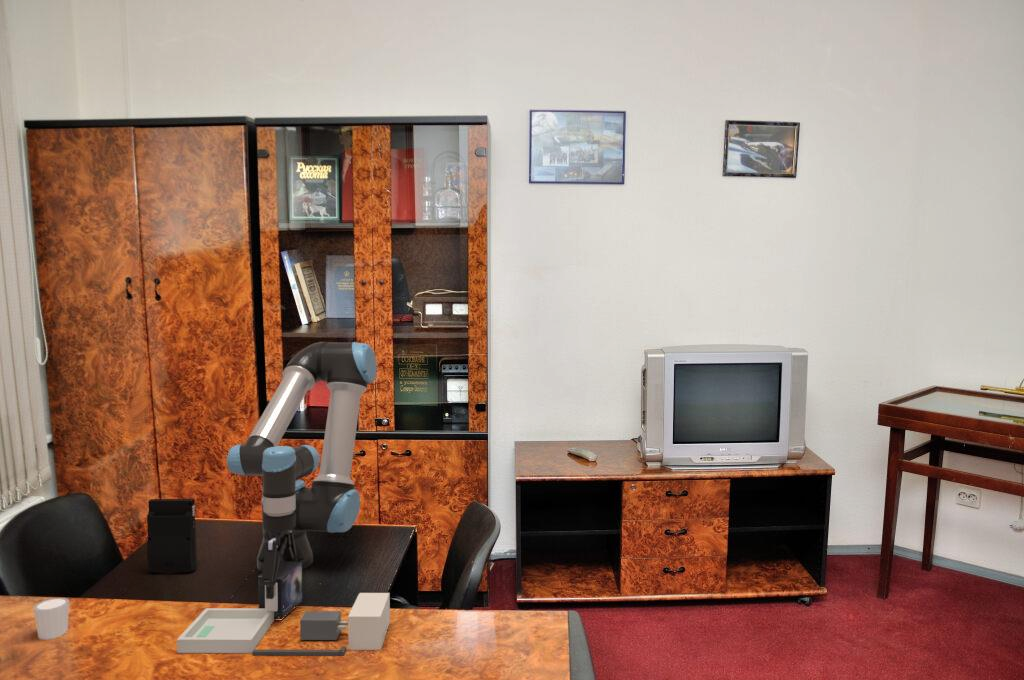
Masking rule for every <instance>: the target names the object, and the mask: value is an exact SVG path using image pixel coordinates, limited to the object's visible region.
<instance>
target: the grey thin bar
mask: <svg viewBox="0 0 1024 680" xmlns="http://www.w3.org/2000/svg"><path fill="white" fill-rule="evenodd" d="M346 651H347V645H346V646H345V645H344V646H341V647H340V649H254V650H253V652H252V653H251V654H252V657H253V656H255V657H256V656H260V657H262V656H264V657H266V656H269V657H270V656H273V657H274V656H275V657H277V656H279V657H280V656H281V657H283V656H284V657H285V656H288V657H289V656H290V657H291V656H292V657H293V656H296V657H297V656H298V657H299V656H302V657H303V656H304V657H305V656H306V657H309V656H310V657H315V656H316V657H319V656H320V657H321V656H322V657H323V656H324V657H325V656H327V657H328V656H329V657H330V656H331V657H334V656H335V657H337V656H338V657H341V656H342V657H343V656H345V654H346Z"/></svg>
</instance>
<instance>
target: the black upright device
mask: <svg viewBox="0 0 1024 680" xmlns="http://www.w3.org/2000/svg"><path fill="white" fill-rule="evenodd" d="M195 502H196V501H195V498H152V499H149V500H148V501H147V503H148V505H147V506H148V514H147V515H146V523H147V524H146V525H147V526H146V527H147V543H146V544H147V545H146V558H147V559H146V560H147V566H148V570H149V571H150V572H151V573H155V574H166V575H167V574H168V575H175V574H186V573H187V574H188V573H191V572H194V571H196V570H197V568H198V566H197V536H196V531H197V530H196V510H195V509H196V508H195V507H196V506H195Z"/></svg>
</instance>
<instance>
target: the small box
mask: <svg viewBox="0 0 1024 680" xmlns="http://www.w3.org/2000/svg"><path fill="white" fill-rule="evenodd" d="M257 577H258V608H265V585H261V584H260V582H261V580H262V573H261V574H259V575H258V576H257ZM276 583H277V586H278V610H277V611H274V619H282V618H283V617H285V615H287V613H289V612H290V611H291V610H292V609H293V608H294V607H296V606H298V607H299V606H300V605H301V604H303V569H302V563H299V562H290V561H282V560H280V563H279V568H278V573H277V578H276ZM296 608H297V607H296ZM287 616H288V615H287ZM285 618H286V617H285Z"/></svg>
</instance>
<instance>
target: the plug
mask: <svg viewBox="0 0 1024 680" xmlns="http://www.w3.org/2000/svg"><path fill="white" fill-rule="evenodd" d="M299 626H300V627H299V631H300V633H299V634H300V641H305V640H306V641H337V640H338V639H339V636H340V635H341V632H342V631H346V630H347V626H348V620H345V621H344V620H343V621H342V611H341V610H339V611H337V610H336V611H335V610H334V611H333V610H331V611H329V610H326V611H325V610H320V611H319V610H318V611H316V610H314V611H313V610H311V611H310V610H309V611H308V610H305V612H304V613H303V615H302V616H301V618H300V620H299Z"/></svg>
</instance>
